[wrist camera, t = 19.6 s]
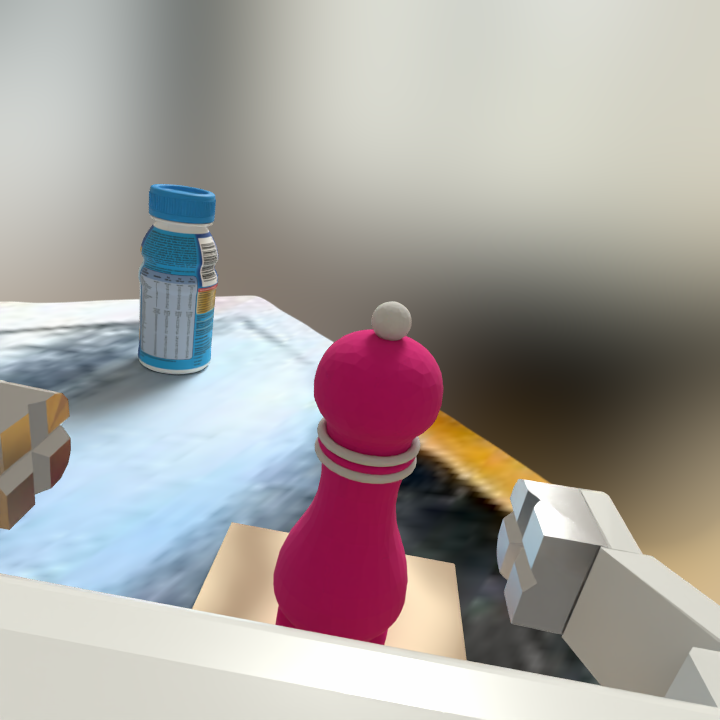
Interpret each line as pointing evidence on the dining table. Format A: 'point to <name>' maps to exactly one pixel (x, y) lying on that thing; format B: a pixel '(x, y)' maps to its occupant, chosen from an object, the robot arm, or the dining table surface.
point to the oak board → (258, 603)
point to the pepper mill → (359, 483)
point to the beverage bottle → (178, 281)
